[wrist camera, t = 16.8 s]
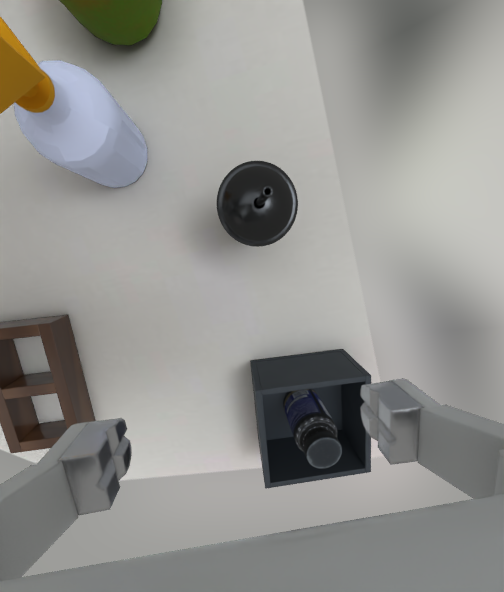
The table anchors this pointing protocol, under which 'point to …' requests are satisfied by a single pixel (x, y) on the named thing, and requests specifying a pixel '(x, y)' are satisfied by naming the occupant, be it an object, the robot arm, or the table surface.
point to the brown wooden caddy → (40, 384)
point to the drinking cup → (257, 203)
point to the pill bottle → (312, 428)
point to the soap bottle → (70, 116)
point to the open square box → (335, 397)
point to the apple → (116, 18)
